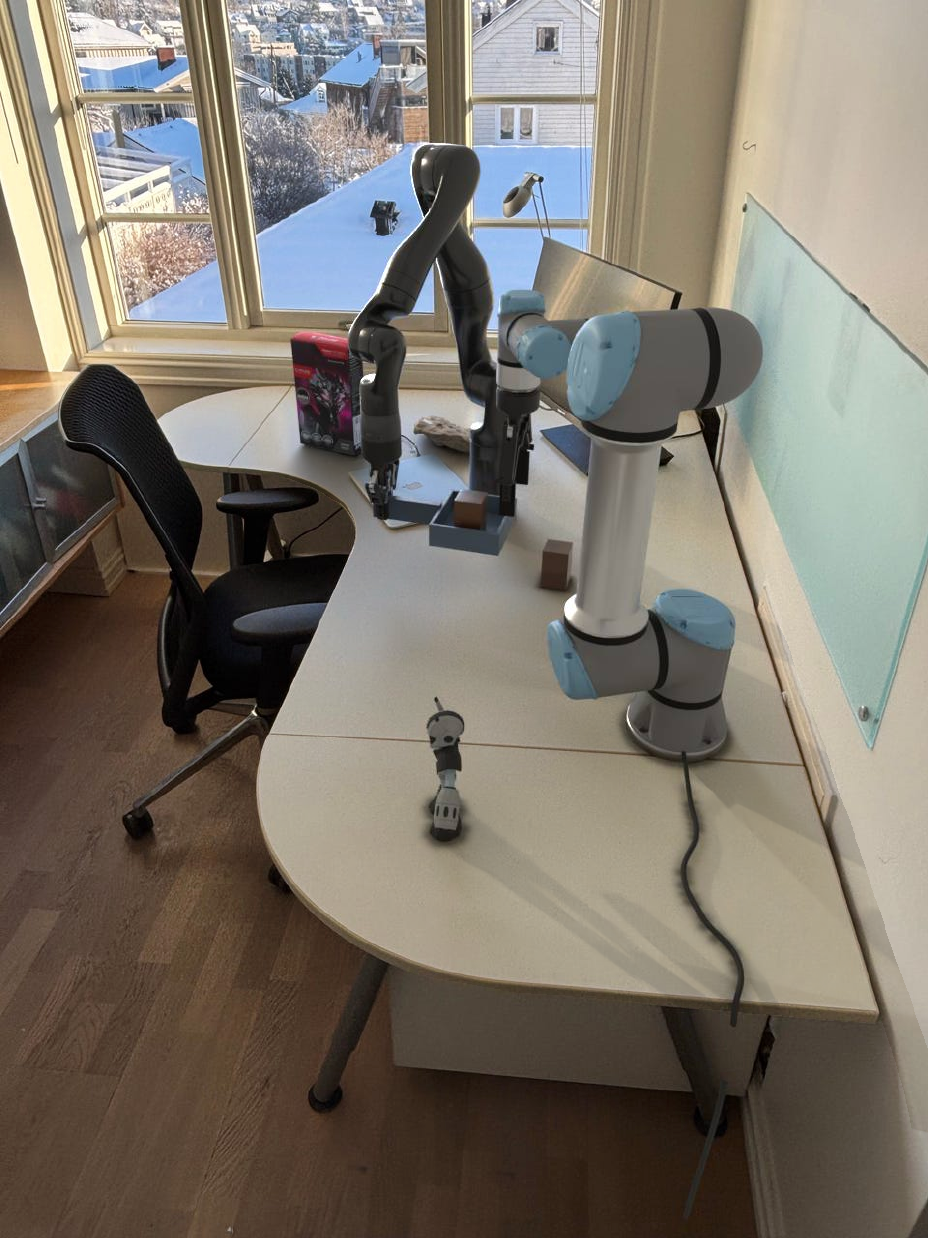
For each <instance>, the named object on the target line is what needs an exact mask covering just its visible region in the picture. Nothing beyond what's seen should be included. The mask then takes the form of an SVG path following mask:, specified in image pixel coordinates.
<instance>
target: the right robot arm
mask: <svg viewBox="0 0 928 1238" xmlns="http://www.w3.org/2000/svg"><path fill="white" fill-rule="evenodd" d="M498 299H499V300H498V310H497V311H498V312H497V314H496V316H497V318H498V319H497V357H496V358H497V359H496V363H497V375H496V383H497V384H498V385H499V386H498V387H497V388H496V407H497V408H498V409H499V410H500V411H502V412H505V413H506V414H507V420H505V421H504V426H503V428H502V430H503V437H502V447H501V456H500V465H499V474H498V478H495V482H496V483H498V484H500V497H499V515H500V516H509V517H514V516H515V498H516V495H517V485H523V486H528V485H529V478H530V477H529V475H530V459H531V458H530V457H531V456H530V455H531V452H530V451H534V450H535V444H534V443H532V442H533V429H532V413H535V412H536V411H538V410H539V409H540V406H541V405H540V404H541V388H540V385H541V380H552V379H555V378H557V377H559V376H561V374H564V373H565V372H566V377H565V379H566V380H565V381H566V382H565V383H566V385H567V391H566V397H567V400H568V401H567V402H568V405H569V408H570V411H571V412H572V414H573V415H574V416H575V417H576V418H578V419H580V422H579V423H580V428H581V430H583V432H584V433H586V435H587V436H588V437H589V438H590V439H591V440H590V450H589V459H588V471H587V479H586V480H587V482H586V492H585V502H584V512H583V513H584V514H583V521H582V523H583V524H582V533H581V544H580V555H579V564H578V565H579V566H578V575H577V585H576V586H577V587H576V593H575V594H573V595H572V596H571V597H569V599H568V600H567V601H566V602H565V604H564V609H563V619H555V620H553V621H551V622H550V623H549V624H548V626H547V629H546V641H547V649H548V654H549V658H550V663H551V666H552V670H553V673H554V676H555V678H556V681H557V683H558V685H559V688H560V689H561V691H562V692H563V694H564V695H565V696H566V697H567V698H569V699H571V700H574V701H583V700H594V701H595V700H598V699H600V698H601V699H602V698H607V697H613V696H620V695H626V694H633V693H636V694H635V695H634V697H633V699H632V701H631V702H630V704H629V705H628V707H627V711H626V719H625V728H626V732H627V734H628V736H629V738H630V739H631V741H632V742H634V744H636V745H637V746H638V747H639V748H640V749H641V750H643V751H645V752H646V753H648V754H650V755H651V756H654V757H656V758H659V759H662V760H666V761H670V762H675V763H682V769H683V775H684V782H685V790H686V798H687V803H688V807H689V812H690V816H691V819H692V824H693V825H692V826H693V836H692V840H691V843H690V844H689V847H688V848H687V850H686V851H685V854H684V856H683V858H682V860H681V864H680V878H681V883H682V887H683V890H684V892H685V895H686V897H687V899H688V901H689V903H690V905H691V906H692V908H693V910H694V911H695V913H696V915H697V917H698V918H699V920H700V921H701V922H702V924H703V925H704V926H705V927H706V929H707V930H708V931H709V932H710V933H711V934H712V935H713V936H714V937H715V938H717V940H718V941H719V942H720V943H721V944H722V945H724V947H725V948H726V949H727V951H728V953H730V955H731V957H732V959H733V961H734V964H735V967H736V971H737V981H736V986H735V989H734V990H735V991H734V994H733V998H732V1003H731V1007H730V1018H729V1025H730V1027H731V1028H736V1027H737V1023H738V1014H739V1007H740V1002H741V998H742V993H743V989H744V985H745V970H744V966H743V962H742V959H741V958H740V955H739V954H738V952H737V950H736V948H735V947H734V946H733V945H732V943H731V942H730V941H729V940H728V939H727V938H726V936H724V935H723V934H722V933H721V931H720V930H718V929H717V928H716V927H715V925H713V924H712V923H711V922H710V920H709V919H708V918H707V917H706V915H705V914H704V912H703V910H702V908H701V907H700V905H699V904H698V902H697V900H696V898H695V897H694V894H693V892H692V891H691V888H690V886H689V882H688V875H687V868H688V862H689V860H690V858H691V857H692V855H693V853H694V851H695V850H696V847H697V845H698V843H699V838H700V824H699V820H698V815H697V812H696V807H695V804H694V798H693V792H692V784H691V777H690V770H689V763H694V762H700V761H703V760H706V759H709V758H711V757H714V755H716V754H718V752H720V751H721V750H722V748H723V747H724V744H725V743H726V740H727V739H726V738H727V734H728V721H727V716H726V712H725V708H724V707H725V706H724V701H723V692H724V686H725V682H726V678H727V674H728V673H727V672H728V668H729V664H730V659H731V654H732V651H733V650H732V649H733V648H734V645H735V637H736V636H735V635H736V618H735V616H734V614H733V612H732V611H731V609H730V608H729V607H728V606H727V605H726V604H725V603H723V602H722V601H720V600H719V599H717V598H715V596H712V595H709V594H707V593H704V592H701V591H699V590H698V591H697V590H694V589H689V588H688V589H687V588H671V589H667V590H664V591H662V592H661V593H660V594H659V595H657V597H656V599H654V602H653V607H652V608H647V607H646V606H645V604H644V603H643V602H641V594H642V587H643V580H644V573H645V565H646V558H647V552H648V544H649V538H650V530H651V524H652V516H653V509H654V502H655V496H656V488H657V481H658V474H659V466H660V459H661V453H662V446H663V444H665V443H666V442H668V441H670V440H671V439H672V438H673V437H675V435H676V434H677V431H678V424H679V418H680V414H681V412H687V411H689V412H690V411H697V410H704V409H705V410H706V409H712V408H716V407H720V406H723V405H726V404H728V403H730V402H732V401H734V400H735V399H737V398H738V397H740V396H742V394H743V393H744V392H746V391H747V390H748V389H749V388H750V387H751V385H752V384H753V383H754V382H755V380H756V378H757V376H758V374H759V372H760V370H761V367H762V363H763V355H764V348H763V347H764V346H763V342H762V338H761V335H760V333H759V331H758V329H757V328H756V326H755V325H754V324H753V323H752V321H750V320H749V318H747V317H745V316H744V315H742V314H740V313H739V312H737V311H734V310H731V309H727V308H722V307H713V306H709V307H708V306H707V307H696V308H679V309H661V310H660V309H659V310H639V311H635V310H634V311H630V310H621V311H619V312H616V313H609V314H608V313H607V314H598V315H595V316H593V317H591V318H588V317H587V318H570V319H569V318H568V319H554V320H548V319H547V318H546V317H545V315H546V312H547V311H546V302H545V301H546V299H545V296H544V295H543V293H541V292H539V291H537V290H533V289H512V290H507V291H504V292H503V293H502V294H501V295H500V296H499V298H498ZM720 1082H721V1083H720V1086H719V1091H718V1095H717V1100H716V1104H715V1107H714V1111H713V1116H712V1119H711V1121H710V1122H711V1123H710V1126H709V1128H708V1132H707V1136H706V1139H705V1143H704V1146H703V1149H702V1153H701V1156H700V1159H699V1162H698V1165H697V1167H696V1171H695V1173H694V1178H693V1181H692V1183H691V1187H690V1191H689V1193H688V1197H687V1200H686V1204H685V1206H684V1211H683V1214H682V1218H683V1220H685V1221H688V1220H689V1217H690V1214H691V1210H692V1206H693V1204H694V1200H695V1197H696V1193H697V1190H698V1187H699V1185H700V1181H701V1178H702V1176H703V1173H704V1169H705V1166H706V1164H707V1163H706V1162H707V1159H708V1157H709V1153H710V1151H711V1148H712V1144H713V1141H714V1138H715V1134H716V1131H717V1127H718V1125H719V1121H720V1117H721V1114H722V1110H723V1105H724V1102H725V1098H726V1097H725V1096H726V1093H727V1090H728V1086H729V1081H727V1080H725V1079H721V1081H720Z"/></svg>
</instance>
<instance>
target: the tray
mask: <svg viewBox="0 0 928 1238" xmlns="http://www.w3.org/2000/svg"><path fill="white" fill-rule="evenodd" d="M460 491H461V489H460V490H459V489H451V490H450V491H449V492H448V494H447V496H446V497H445V499H444V501H443V502H442V501H435V500H428V499H420V498H415V497H414V498H413V497H407V496H401V495H394V494H393V495H388V516H389V517H388V519H387V520H392V521H399V522H406V523H411V524H412V523H413V524H418V525H419V524H420V525H426V526H428V546H429V547H436V548H440V549H448V550H455V551H461V552H468V553H475V554H482V555H489V556H495V557H499V555H500V553H501V551H502V549H503V547H504V545H505V542H506V540H507V538H508V536H509V534H510V532H511V530H512V528H513V526H514V524H515V522H516V520H517V510H518V509H517V506H518V498H517V497H515V516H514V517H509V516H500V515H499V497H500V496H496V495H489V494H487V522H486V531H481V530H474V529H467V528H460V527H454V501H455V499H456V497H457V496H458V494H459V492H460ZM383 496H384V494H383ZM372 515H373V518H377V513H376V504H375V503H372Z"/></svg>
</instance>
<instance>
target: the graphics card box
mask: <svg viewBox="0 0 928 1238" xmlns="http://www.w3.org/2000/svg"><path fill="white" fill-rule="evenodd" d="M289 340H290V341H289V342H290V350H291V359H292V360H291V361H292V371H293V378H294V379H293V380H294V390H295V401H296V402H295V403H296V411H297V423H298V424H297V425H298V433H299V443H300V444H302V445H304V446H305V445H306V446H310V447H315V448H320V449H324V450H328V451H332V452H336V453H341V454H346V455H351V456H356V455H357V454H359V453H362V452H361V435H360V410H361V409H360V393H359V386H360V381H361V380H362V378H364V377H365V376H364V361H361V360H358V359H356V358H354V357H353V356H352V355H351V353H350V351H349V348H348V337H341V336H336V335H330V334H325V333H320V332H315V331H309V330H303V331H300V332H298V333H295V335H293V336H292V337H291V338H290V339H289Z"/></svg>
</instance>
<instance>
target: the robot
mask: <svg viewBox="0 0 928 1238" xmlns="http://www.w3.org/2000/svg"><path fill="white" fill-rule="evenodd" d="M433 701H434V703H435V706H436V708H437V712H434V713H433V714H432V715H430V717H429V718H428V720H427V722H426V724H425V727H426V734H427V735H428V738H429V747H430V749H432V753H433V755H434V757H435V759H436V762H435V769H436V775H437V777H438V778H439V783H440V784H439V785H438V789H437V792H436V795H434V797H433V798H432V799H431V801H430V802H429V804H428V809H429V811H430V814H431V815H432V816H433V821H432V824H431V826H430V829H429V832H428V834H429V835H430V836H431V837H432V838H433V839H434V840H435V841H439V842H449V841H452V840H454V839H457V838H459V837H460V835H461V832H462V831H463V827H462V826H463V825H462V817H461V815H460V812H461V810H462V808H461V797H460V793H459V792H460V791H459V790H458V789H457V787H456V781H457V772H462V770H463V766H462V765H463V761H462V755H461V752H460V747H459V743H460V742H461V737H460V736H461V735H463V733H464V732H465V720H464V717H462V715H461V714H460V713H458V712H457V711H454V710H451V709H445V708H444V707H443V705H442V703H441V702H440V699H439V698H438V697H437V696H435V697H434V698H433Z"/></svg>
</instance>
